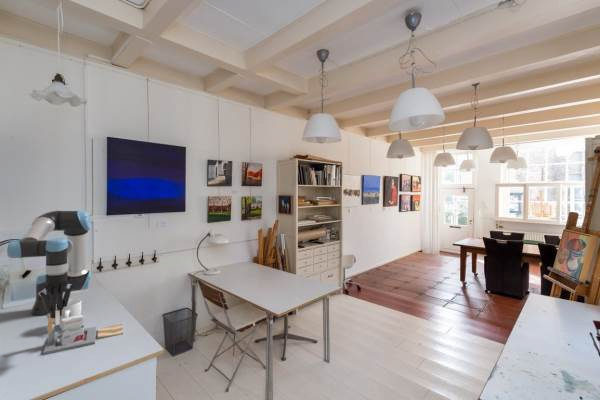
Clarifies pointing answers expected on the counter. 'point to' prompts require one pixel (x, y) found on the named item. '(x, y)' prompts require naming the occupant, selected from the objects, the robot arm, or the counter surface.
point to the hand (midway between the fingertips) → (56, 324)
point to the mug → (71, 309)
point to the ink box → (72, 329)
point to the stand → (53, 340)
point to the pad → (110, 331)
